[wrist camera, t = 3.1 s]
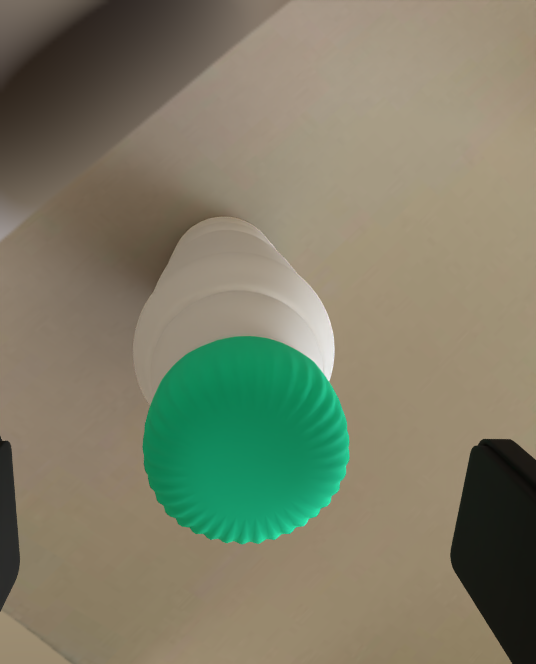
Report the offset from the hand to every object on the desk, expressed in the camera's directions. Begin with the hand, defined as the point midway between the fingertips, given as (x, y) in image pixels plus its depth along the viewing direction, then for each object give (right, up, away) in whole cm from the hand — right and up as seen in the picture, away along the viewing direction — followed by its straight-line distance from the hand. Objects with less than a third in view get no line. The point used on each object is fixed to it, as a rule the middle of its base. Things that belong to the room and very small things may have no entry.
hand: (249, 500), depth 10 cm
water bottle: (-3, +8, +24) cm, 26 cm away
